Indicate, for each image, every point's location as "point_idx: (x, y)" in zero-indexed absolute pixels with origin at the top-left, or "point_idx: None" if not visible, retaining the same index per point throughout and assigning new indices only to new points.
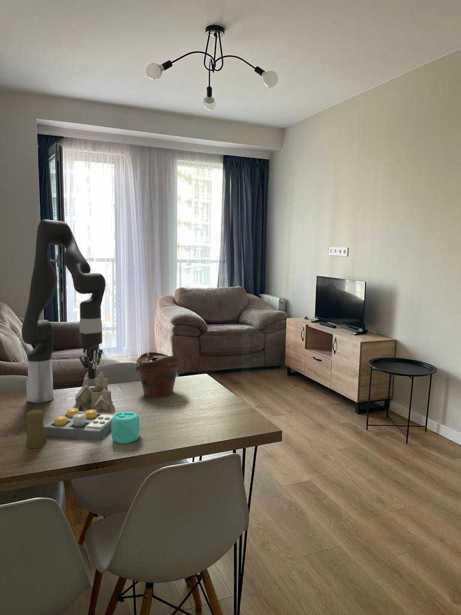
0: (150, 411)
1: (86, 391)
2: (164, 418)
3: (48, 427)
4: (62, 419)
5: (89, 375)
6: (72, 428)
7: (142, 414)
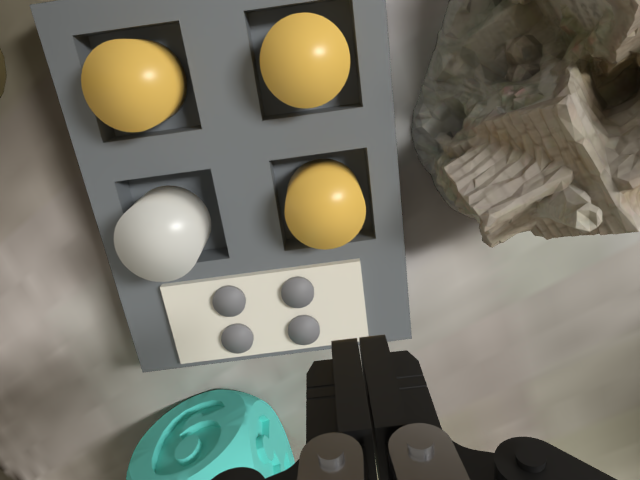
0: (597, 379)
1: (610, 5)
2: None
3: (44, 49)
4: (114, 118)
5: (317, 392)
6: (105, 217)
7: (544, 363)
